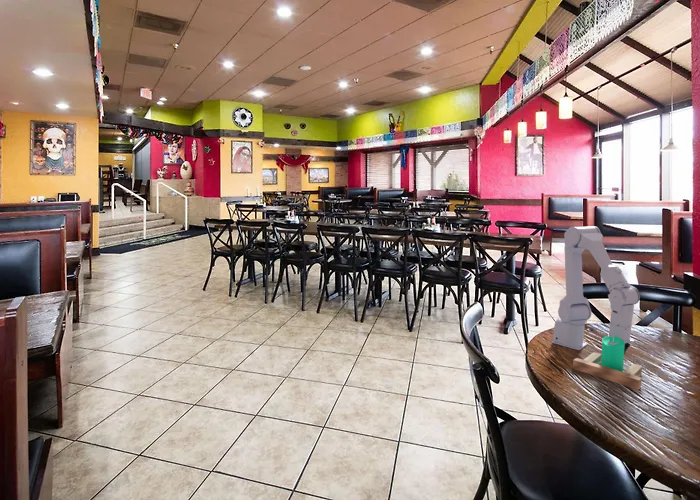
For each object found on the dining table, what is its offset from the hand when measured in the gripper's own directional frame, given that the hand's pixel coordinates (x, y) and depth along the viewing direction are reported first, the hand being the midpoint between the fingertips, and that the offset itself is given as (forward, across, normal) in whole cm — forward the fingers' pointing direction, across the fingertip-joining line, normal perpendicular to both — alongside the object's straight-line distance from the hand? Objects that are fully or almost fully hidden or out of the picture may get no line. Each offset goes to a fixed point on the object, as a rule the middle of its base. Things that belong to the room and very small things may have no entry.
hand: (616, 363), depth 132 cm
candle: (+1, -3, 0) cm, 3 cm away
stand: (+1, -5, 0) cm, 5 cm away
